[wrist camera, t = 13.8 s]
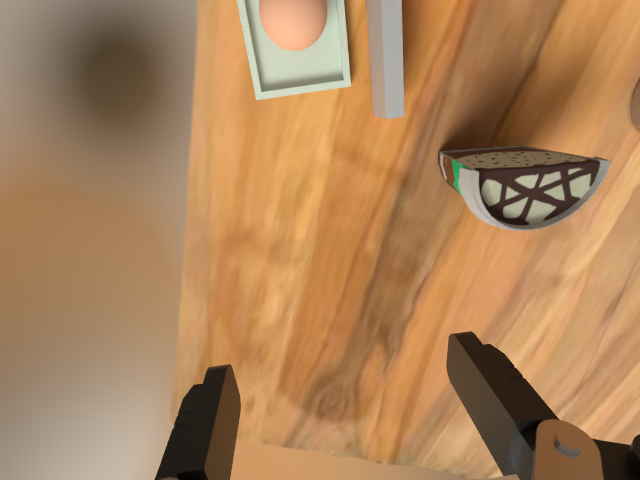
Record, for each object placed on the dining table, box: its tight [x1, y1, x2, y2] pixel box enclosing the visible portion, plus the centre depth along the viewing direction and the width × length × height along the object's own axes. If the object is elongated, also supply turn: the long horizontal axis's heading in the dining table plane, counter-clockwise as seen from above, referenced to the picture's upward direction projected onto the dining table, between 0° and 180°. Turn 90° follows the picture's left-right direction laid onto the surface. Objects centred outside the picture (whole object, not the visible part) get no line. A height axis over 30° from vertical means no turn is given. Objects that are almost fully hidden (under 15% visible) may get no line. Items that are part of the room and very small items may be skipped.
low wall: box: [366, 0, 404, 119], centre depth 27 cm, size 2×18×5 cm, turn 7°
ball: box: [259, 0, 328, 51], centre depth 26 cm, size 6×6×6 cm
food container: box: [438, 145, 611, 231], centre depth 32 cm, size 12×6×10 cm, turn 93°
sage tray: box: [237, 0, 351, 100], centre depth 29 cm, size 9×12×1 cm
